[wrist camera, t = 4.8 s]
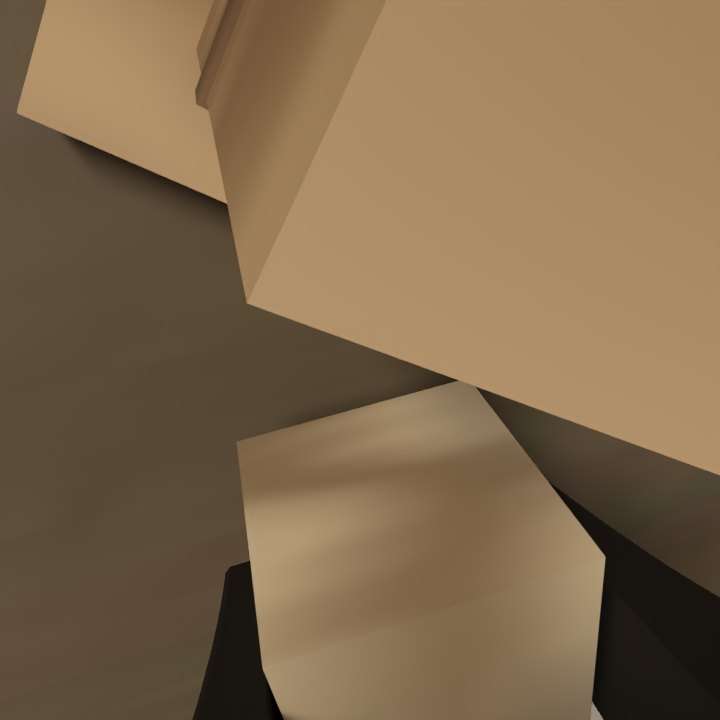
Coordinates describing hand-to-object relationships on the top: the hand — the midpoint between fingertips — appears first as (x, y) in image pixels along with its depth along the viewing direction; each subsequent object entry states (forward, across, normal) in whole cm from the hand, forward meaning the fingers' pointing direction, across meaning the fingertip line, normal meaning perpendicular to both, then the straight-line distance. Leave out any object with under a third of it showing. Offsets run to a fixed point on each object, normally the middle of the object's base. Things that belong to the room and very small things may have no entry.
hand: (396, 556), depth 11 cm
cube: (+2, 0, 0) cm, 2 cm away
